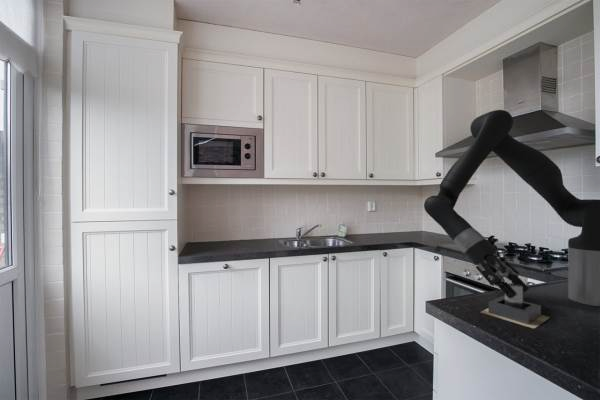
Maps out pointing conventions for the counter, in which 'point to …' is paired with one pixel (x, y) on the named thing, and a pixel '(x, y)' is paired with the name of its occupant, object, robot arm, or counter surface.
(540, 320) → the board
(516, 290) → the cylinder
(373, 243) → the counter surface
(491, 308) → the sleeve
